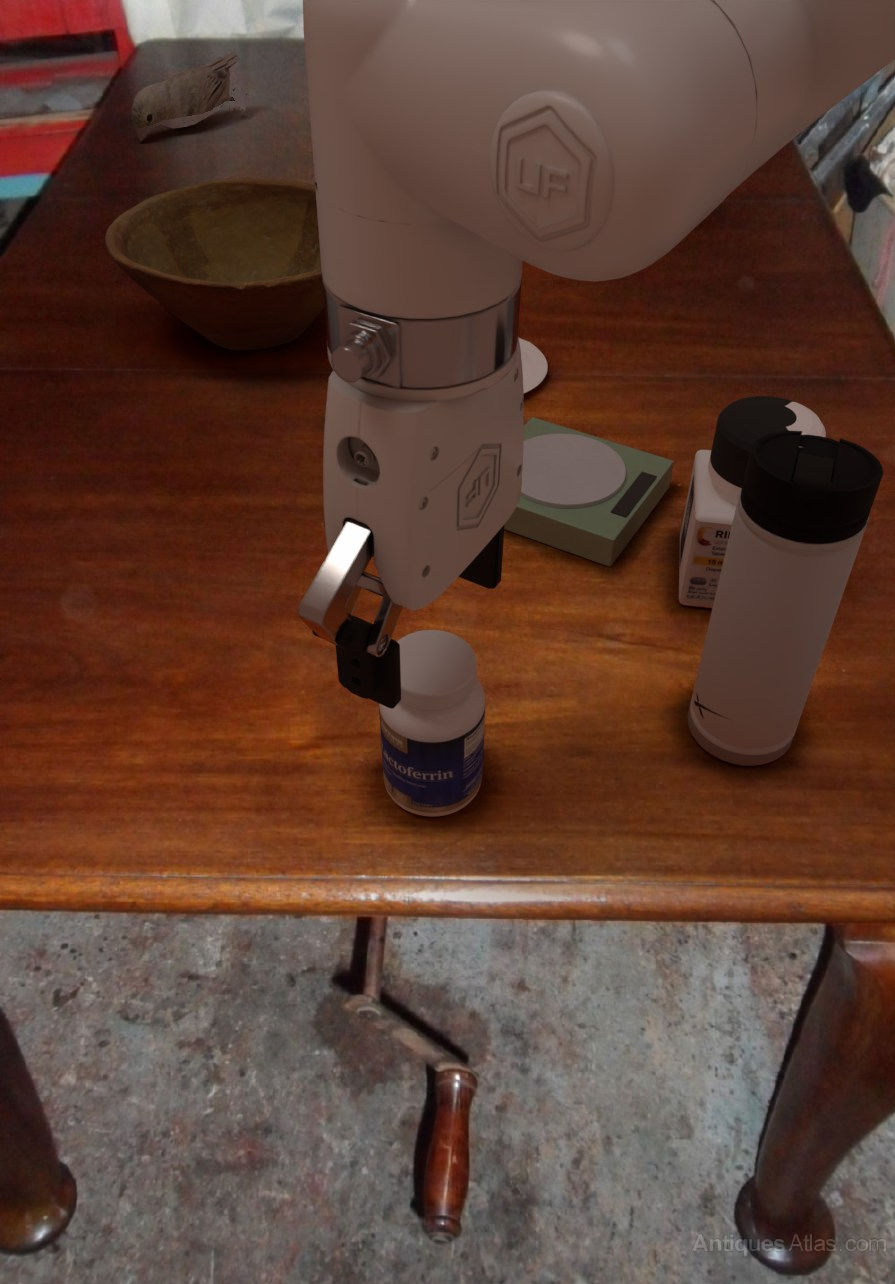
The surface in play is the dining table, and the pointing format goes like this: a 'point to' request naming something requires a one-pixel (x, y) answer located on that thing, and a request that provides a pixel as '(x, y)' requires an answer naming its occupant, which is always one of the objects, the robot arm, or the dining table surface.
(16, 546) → the dining table surface
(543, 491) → the scale
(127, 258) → the bowl
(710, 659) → the travel mug
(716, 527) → the container
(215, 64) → the decorative bird
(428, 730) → the pill bottle
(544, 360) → the candle holder
